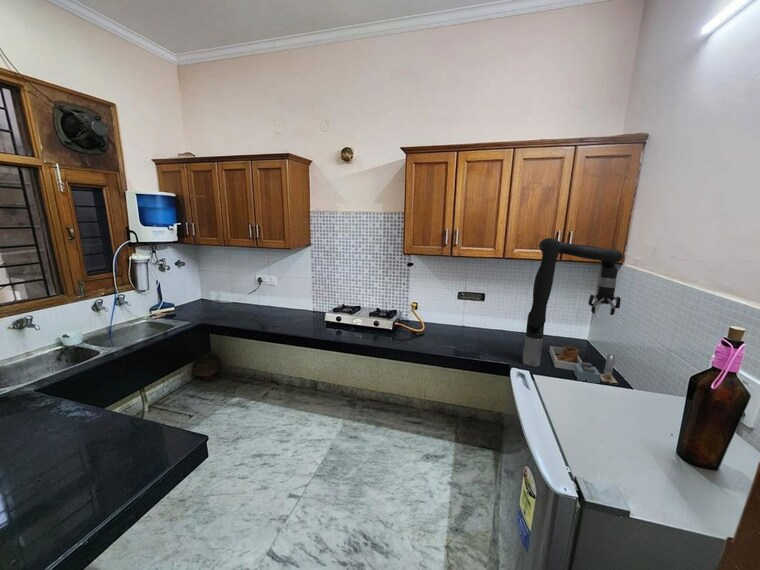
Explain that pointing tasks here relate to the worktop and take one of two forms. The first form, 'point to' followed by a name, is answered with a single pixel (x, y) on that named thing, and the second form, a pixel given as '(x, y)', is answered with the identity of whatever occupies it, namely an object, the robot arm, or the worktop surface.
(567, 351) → the bracket
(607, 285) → the robot arm
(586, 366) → the vise block
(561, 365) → the frame
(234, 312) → the worktop surface
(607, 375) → the steel pin
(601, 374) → the rest board
